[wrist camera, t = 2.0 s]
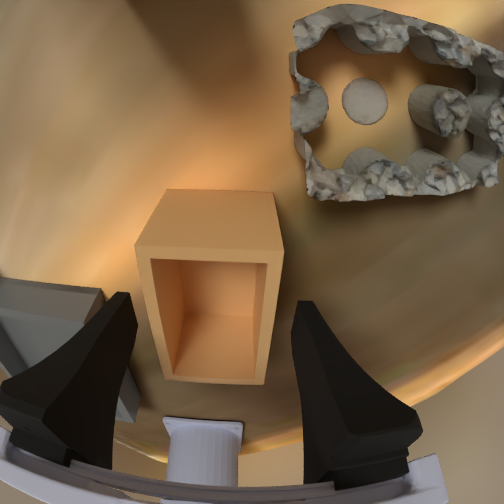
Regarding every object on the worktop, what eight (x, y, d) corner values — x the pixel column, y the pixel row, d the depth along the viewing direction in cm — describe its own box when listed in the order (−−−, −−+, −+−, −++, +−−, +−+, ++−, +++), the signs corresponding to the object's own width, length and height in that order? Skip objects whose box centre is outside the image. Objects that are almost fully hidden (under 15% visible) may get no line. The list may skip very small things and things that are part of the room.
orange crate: (260, 316, 19) (263, 384, 14) (179, 312, 18) (164, 379, 14) (272, 192, 14) (284, 251, 10) (166, 189, 14) (134, 245, 10)
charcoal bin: (140, 395, 24) (134, 423, 22) (31, 371, 24) (22, 393, 21) (100, 288, 17) (83, 322, 15) (-25, 273, 17) (-44, 296, 14)
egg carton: (284, 171, 14) (296, 208, 11) (282, 13, 10) (296, -10, 6) (465, 180, 14) (509, 213, 10) (480, 54, 10) (532, 62, 6)
